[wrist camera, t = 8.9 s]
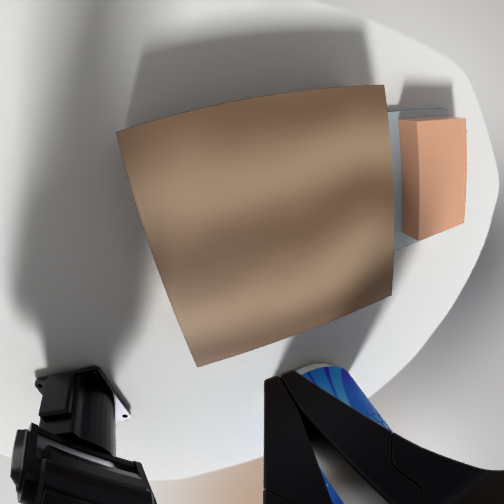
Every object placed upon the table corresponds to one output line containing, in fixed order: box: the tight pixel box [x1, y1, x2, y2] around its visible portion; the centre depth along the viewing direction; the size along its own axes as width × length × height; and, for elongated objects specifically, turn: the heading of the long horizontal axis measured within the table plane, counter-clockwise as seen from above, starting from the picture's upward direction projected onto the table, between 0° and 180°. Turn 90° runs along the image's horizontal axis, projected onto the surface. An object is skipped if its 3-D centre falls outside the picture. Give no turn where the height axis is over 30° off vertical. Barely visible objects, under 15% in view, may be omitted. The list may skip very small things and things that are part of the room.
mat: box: [388, 109, 448, 251], centre depth 22 cm, size 11×10×1 cm
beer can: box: [296, 363, 393, 504], centre depth 22 cm, size 8×8×16 cm
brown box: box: [116, 85, 394, 367], centre depth 18 cm, size 14×14×4 cm
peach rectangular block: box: [398, 116, 467, 241], centre depth 21 cm, size 9×6×2 cm, turn 10°
